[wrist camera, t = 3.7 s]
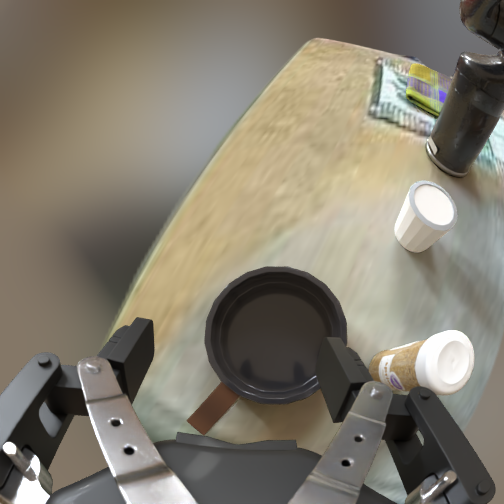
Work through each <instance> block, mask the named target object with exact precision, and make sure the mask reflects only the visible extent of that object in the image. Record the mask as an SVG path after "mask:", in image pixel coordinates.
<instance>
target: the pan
mask: <svg viewBox="0 0 504 504" xmlns="http://www.w3.org/2000/svg"><path fill="white" fill-rule="evenodd" d="M325 337H336V338H341V339H342V341H343V343H344V344H345V346H347V322H346V319H345V316H344V313H343V310H342V308H341V305H340V302H339V301H338V299H337V298H336V297H335V295H334V294H333V293H332V292H331V290H330V289H329V288H328V287H327V285H326V284H324V283H323V282H321V281H320V280H318V279H317V278H315V277H314V276H312V275H311V274H309V273H308V272H304V271H301V270H298V269H294V268H291V267H263V268H260V269H257V270H253V271H250V272H247V273H245V274H243V275H242V276H240V277H239V278H237V279H235V280H234V281H232V282H231V283H229V285H227V286H226V288H225V289H224V290H223V291H222V292H221V293H220V295H219V296H218V297H217V298H216V299H215V301H214V303H213V305H212V308H211V310H210V312H209V315H208V317H207V320H206V329H205V346H206V351H207V355H208V359H209V362H210V364H211V366H212V368H213V369H214V371H215V372H216V374H217V375H218V377H219V379H220V380H221V381H222V382H223V383H224V384H225V385H226V386H227V387H229V388H230V389H231V390H232V391H234V392H235V393H236V394H237V395H239V396H241V397H244V398H246V399H249V400H252V401H254V402H257V403H260V404H288V403H291V402H295V401H298V400H301V399H305V398H307V397H309V396H310V395H312V394H313V393H315V392H316V391H318V390H319V389H320V385H319V382H318V379H317V377H316V371H315V369H316V362H317V359H318V356H319V352H320V349H321V345H322V342H323V339H324V338H325Z"/></svg>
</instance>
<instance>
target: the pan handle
mask: <svg viewBox="0 0 504 504" xmlns="http://www.w3.org/2000/svg"><path fill="white" fill-rule="evenodd" d="M240 398H241V396H239V395H237V394H236V393H235V392H234V391H232V390H231V389H230V388H229V387H227V386H226V385H225V384H224V383H223V382H221V383H220V384H219V385H218V386H217V388H216V389H215V390H214V391H213V392H212V393H211V394H210V396H209V397H208V398H207V399H206V400H205V401H204V402H203V403H202V404H201V406H200V407H199V408H198V409H197V410H196V411H195V412H194V413H193V414H192V415H191V416H190V418H189V419H188V420H187V422H188V423H190V424H191V425H192V426H193V427H194V428H195V429H196V430H198V431H199V432H200V433H201V434H202V435H205V434H206V433H208V432H209V431H210V430H211V429H212V428H213V427H214V426H215V425H216V424H217V423H218V421H219V420H220V419H221V418H222V417H223V416H224V415H225V414H226V413H227V412H228V411H229V410H230V408H231V407H232V406H233V405H234V404H235V403H236V402H237V401H238V399H240Z"/></svg>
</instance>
